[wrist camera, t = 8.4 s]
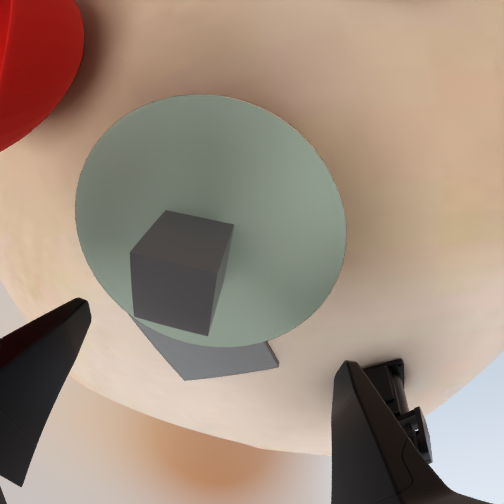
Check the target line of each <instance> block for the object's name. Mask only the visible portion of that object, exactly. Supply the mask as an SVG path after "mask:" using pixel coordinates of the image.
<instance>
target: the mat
mask: <svg viewBox="0 0 504 504" xmlns="http://www.w3.org/2000/svg"><path fill="white" fill-rule="evenodd" d="M129 316H130V317H131V318H132V319H133V321H134V322H135V323H136V325H137V326H138V327H139V328H140V330H141V331H142V332H143V333H144V335H145V336H146V337H147V338H148V339H149V341H150V342H151V343H152V344H153V346H154V347H155V348H156V349H157V350H158V351H159V353H160V354H161V355H162V356H163V357H164V358H165V360H166V361H167V362H168V363H169V364H170V365H171V366H172V367H173V369H174V370H175V371H176V372H177V373H178V374H179V375H180V376H181V377H182V378H183V380H184V381H187V380H197V379H206V378H214V377H222V376H229V375H236V374H243V373H249V372H255V371H261V370H267V369H272V368H278V367H279V362H278V360H277V359H276V357H275V355H274V353H273V352H272V350H271V348H270V346H269V345H268V343H267V341H264V342H261V343H257V344H252V345H247V346H239V347H210V346H201V345H196V344H191V343H187V342H183V341H180V340H177V339H173V338H171V337H168V336H166V335H164V334H161V333H159V332H157V331H155V330H153V329H151V328H149V327H147V326H146V325H144V324H143V323H141V322H140V321H138V320H136V319H135V318H134V317H132V316H131V315H130V314H129Z"/></svg>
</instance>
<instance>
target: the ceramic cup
mask: <svg viewBox="0 0 504 504" xmlns="http://www.w3.org/2000/svg"><path fill="white" fill-rule="evenodd" d="M83 52H84V25H83V20H82V17H81V13H80V10H79V8H78V6H77V4H76V2H75V1H74V0H0V152H1V151H3V150H4V149H6V148H8V147H9V146H11V145H13V144H14V143H16V142H17V141H19V140H20V139H22V138H23V137H25V136H26V135H27V134H28V133H30V132H31V131H32V130H33V129H34V128H35V127H36V126H38V125H39V124H40V123H41V122H42V121H43V120H44V119H45V118H46V117H47V116H48V115H49V114H50V113H51V112H52V111H53V109H54V108H55V107H56V106H57V105H58V104H59V102H60V101H61V100H62V98H63V96H64V95H65V93H66V92H67V90H68V89H69V87H70V85H71V83H72V81H73V79H74V77H75V75H76V73H77V71H78V69H79V66H80V64H81V61H82V57H83Z"/></svg>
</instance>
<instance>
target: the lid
mask: <svg viewBox="0 0 504 504" xmlns="http://www.w3.org/2000/svg"><path fill="white" fill-rule="evenodd" d="M75 220H76V227H77V233H78V237H79V241H80V245H81V248H82V251H83V253H84V256H85V258H86V261H87V263H88V265H89V267H90V269H91V270H92V272H93V274H94V276H95V277H96V279H97V280H98V282H99V283H100V284H101V286H102V287H103V289H104V290H105V291H106V292H107V293H108V294H109V296H110V297H111V298H112V299H113V300H114V301H115V302H116V303H117V304H118V305H119V306H120V307H121V308H122V309H123V310H125V311H126V312H127V313H128V314H130V315H131V316H132V317H134V318H135V319H136V320H138V321H140V322H141V323H143V324H144V325H146V326H147V327H149V328H151V329H153V330H155V331H157V332H159V333H161V334H164V335H166V336H168V337H171V338H173V339H177V340H180V341H183V342H187V343H191V344H196V345H201V346H210V347H239V346H247V345H252V344H257V343H261V342H264V341H267V340H271V339H274V338H276V337H278V336H280V335H283V334H285V333H287V332H288V331H290V330H292V329H293V328H295V327H297V326H298V325H300V324H301V323H302V322H304V321H305V320H306V319H307V318H309V317H310V316H311V315H312V314H313V313H314V312H315V311H316V310H317V309H318V308H319V307H320V306H321V305H322V303H323V302H324V300H325V299H326V298H327V296H328V295H329V294H330V292H331V290H332V288H333V286H334V284H335V282H336V281H337V279H338V276H339V273H340V270H341V267H342V264H343V260H344V254H345V248H346V222H345V215H344V209H343V205H342V202H341V198H340V195H339V192H338V189H337V187H336V185H335V183H334V180H333V178H332V176H331V174H330V172H329V170H328V168H327V167H326V165H325V163H324V162H323V161H322V159H321V158H320V156H319V155H318V153H317V152H316V150H315V149H314V148H313V147H312V145H311V144H310V143H309V142H308V141H307V140H306V139H305V138H304V137H303V136H302V135H301V134H300V133H299V132H298V131H297V130H296V129H294V128H293V127H292V126H291V125H289V124H288V123H287V122H286V121H284V120H283V119H281V118H280V117H278V116H276V115H275V114H273V113H271V112H269V111H268V110H266V109H264V108H262V107H259V106H257V105H254V104H252V103H249V102H247V101H244V100H240V99H235V98H231V97H227V96H220V95H207V94H196V95H184V96H174V97H170V98H165V99H162V100H158V101H154V102H151V103H149V104H147V105H144V106H142V107H140V108H137V109H135V110H134V111H132V112H131V113H129V114H127V115H126V116H124V117H123V118H121V119H120V120H118V121H117V122H116V123H115V124H114V125H113V126H112V127H110V128H109V129H108V130H107V131H106V132H105V133H104V135H103V136H102V137H101V138H100V139H99V141H98V142H97V143H96V144H95V146H94V147H93V149H92V151H91V152H90V154H89V156H88V158H87V159H86V162H85V164H84V167H83V169H82V171H81V174H80V178H79V182H78V186H77V191H76V200H75Z"/></svg>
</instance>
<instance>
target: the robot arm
mask: <svg viewBox="0 0 504 504" xmlns="http://www.w3.org/2000/svg"><path fill="white" fill-rule="evenodd" d="M90 323H91V313H90V308H89V304H88V302H87V300H84V299H82V298H75V299H73V300H71V301H69V302H67V303H65V304H63V305H61V306H60V307H58V308H56V309H54V310H52V311H50V312H48V313H46V314H44V315H43V316H41V317H39V318H37V319H35V320H33V321H31V322H30V323H28V324H26V325H24V326H23V327H20V328H19V329H17V330H15V331H13V332H12V333H10V334H8V335H6V336H4V337H3V338H0V475H1V476H3V477H4V478H6V479H8V480H9V481H11V482H13V483H15V484H16V485H18V486H20V487H22V485H23V483H24V480H25V476H26V474H27V471H28V468H29V465H30V462H31V459H32V456H33V454H34V451H35V449H36V446H37V443H38V441H39V438H40V436H41V433H42V431H43V428H44V426H45V424H46V421H47V419H48V417H49V414H50V412H51V410H52V408H53V405H54V403H55V401H56V399H57V397H58V394H59V392H60V390H61V388H62V386H63V384H64V382H65V380H66V378H67V376H68V374H69V372H70V370H71V368H72V366H73V364H74V362H75V360H76V358H77V355H78V353H79V351H80V348H81V345H82V343H83V340H84V338H85V335H86V333H87V331H88V328H89V326H90ZM417 429H418V431H414V430H417ZM331 430H332V497H331V500H332V501H331V504H492V503H488V502H484V501H481V500H477V499H474V498H471V497H468V496H464V495H461V494H458V493H456V492H454V491H452V490H451V489H450V488H448V487H447V486H446V485H445V484H444V482H443V481H442V480H441V479H440V478H439V476H438V475H437V474H436V473H435V472H434V471H433V469H432V468H431V467H430V466H429V464H430V463H432V452H431V443H430V436H429V432H428V428H427V425H426V421H425V418H424V416H423V413H422V411H421V409H420V407H416V408H414V410H411V411H409V408H408V404H407V400H406V396H405V392H404V363H403V360H401V359H400V360H396V361H393V362H389V363H386V364H383V365H379V366H376V367H372V368H369V369H365V370H362V369H361V367H360V366H359V364H358V363H357V362H355V361H344V362H343V364H342V365H341V367H340V368H339V370H338V371H337V373H336V375H335V378H334V389H333V402H332V415H331ZM0 504H7V503H6V501H5V498H4V495H3V492H2V490H1V487H0Z"/></svg>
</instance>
